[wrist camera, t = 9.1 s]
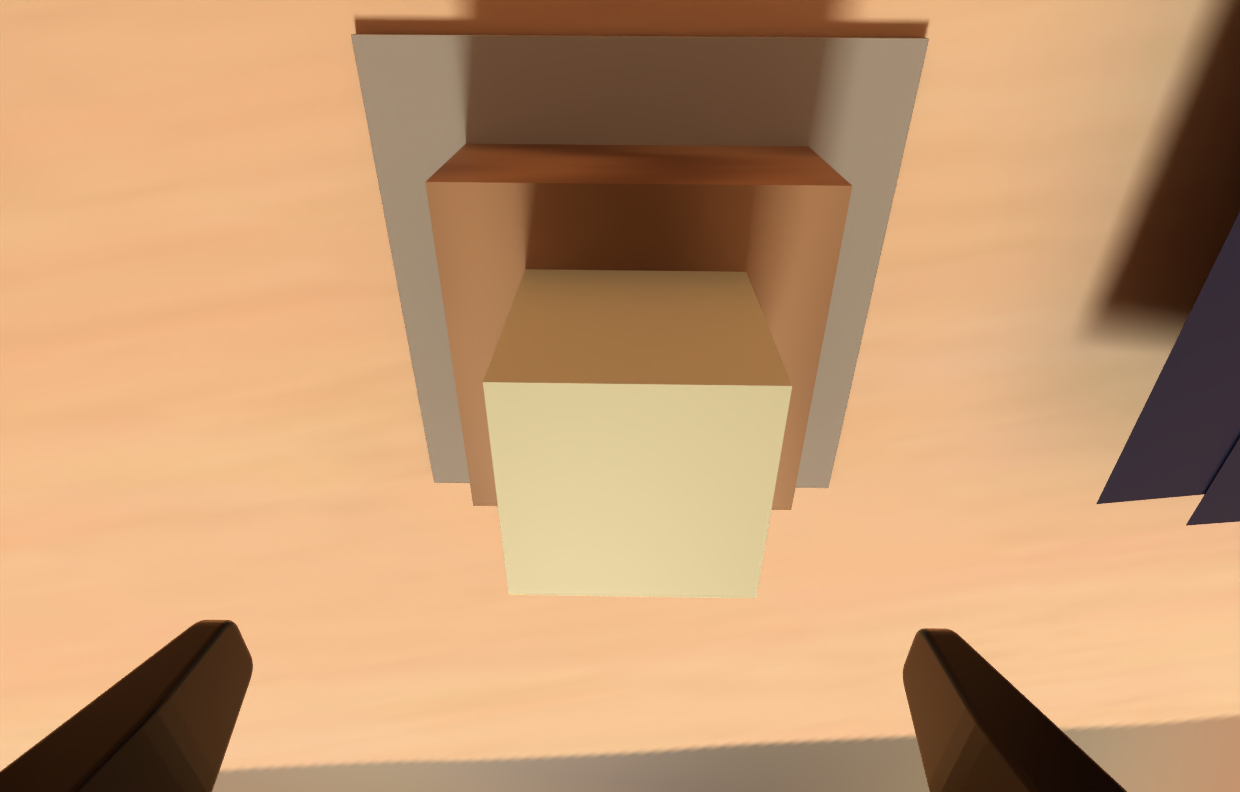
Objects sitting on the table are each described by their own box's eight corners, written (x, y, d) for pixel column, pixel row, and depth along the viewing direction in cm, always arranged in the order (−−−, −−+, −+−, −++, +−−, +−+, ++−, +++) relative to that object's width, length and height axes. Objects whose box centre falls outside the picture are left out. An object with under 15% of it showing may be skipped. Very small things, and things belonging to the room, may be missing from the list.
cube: (538, 447, 18) (508, 594, 13) (525, 269, 15) (482, 382, 11) (725, 449, 17) (756, 598, 13) (746, 272, 15) (792, 386, 11)
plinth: (497, 425, 22) (473, 505, 19) (465, 143, 17) (425, 182, 14) (766, 428, 22) (790, 509, 19) (808, 146, 17) (852, 185, 14)
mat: (436, 477, 24) (434, 482, 23) (355, 33, 16) (350, 34, 16) (826, 482, 23) (828, 488, 23) (924, 37, 16) (928, 38, 16)
